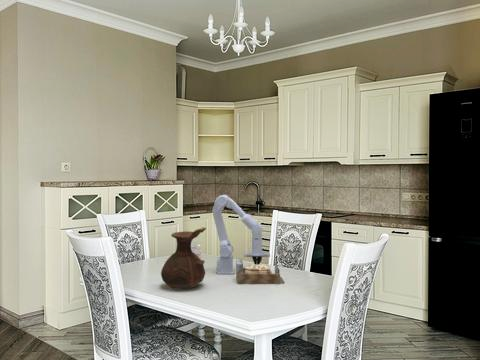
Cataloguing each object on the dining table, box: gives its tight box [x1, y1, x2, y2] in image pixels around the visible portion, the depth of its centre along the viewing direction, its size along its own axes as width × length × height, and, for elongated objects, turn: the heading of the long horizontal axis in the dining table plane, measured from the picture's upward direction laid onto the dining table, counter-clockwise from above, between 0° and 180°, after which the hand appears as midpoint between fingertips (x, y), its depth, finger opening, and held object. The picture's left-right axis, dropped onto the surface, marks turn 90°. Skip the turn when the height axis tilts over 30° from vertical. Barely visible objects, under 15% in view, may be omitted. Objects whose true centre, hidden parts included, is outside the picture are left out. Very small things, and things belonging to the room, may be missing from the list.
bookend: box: [274, 264, 286, 284], centre depth 238 cm, size 4×12×7 cm, turn 3°
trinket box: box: [243, 263, 272, 274], centre depth 240 cm, size 13×15×8 cm
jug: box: [160, 227, 207, 290], centre depth 224 cm, size 22×22×30 cm
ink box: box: [191, 240, 202, 260], centre depth 280 cm, size 9×5×15 cm, turn 71°
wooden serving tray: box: [235, 259, 281, 285], centre depth 237 cm, size 22×13×10 cm, turn 93°
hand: (256, 269), depth 253 cm, fingers closed
